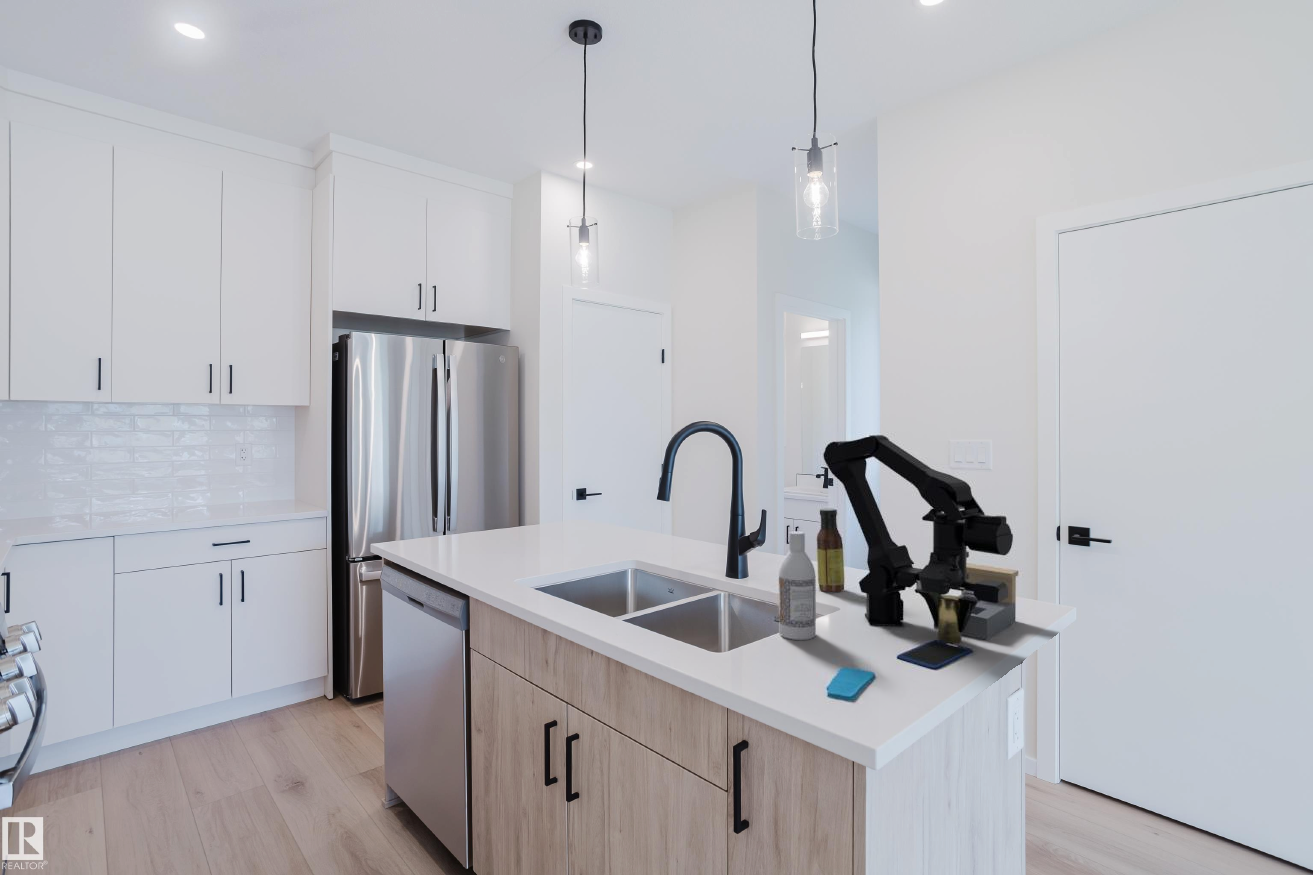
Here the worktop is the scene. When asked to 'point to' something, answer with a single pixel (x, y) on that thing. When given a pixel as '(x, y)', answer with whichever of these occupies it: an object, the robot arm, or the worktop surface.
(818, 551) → the sauce bottle
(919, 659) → the cell phone
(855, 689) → the sponge
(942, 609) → the peg
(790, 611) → the bath foam
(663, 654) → the worktop surface
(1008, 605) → the socket block
